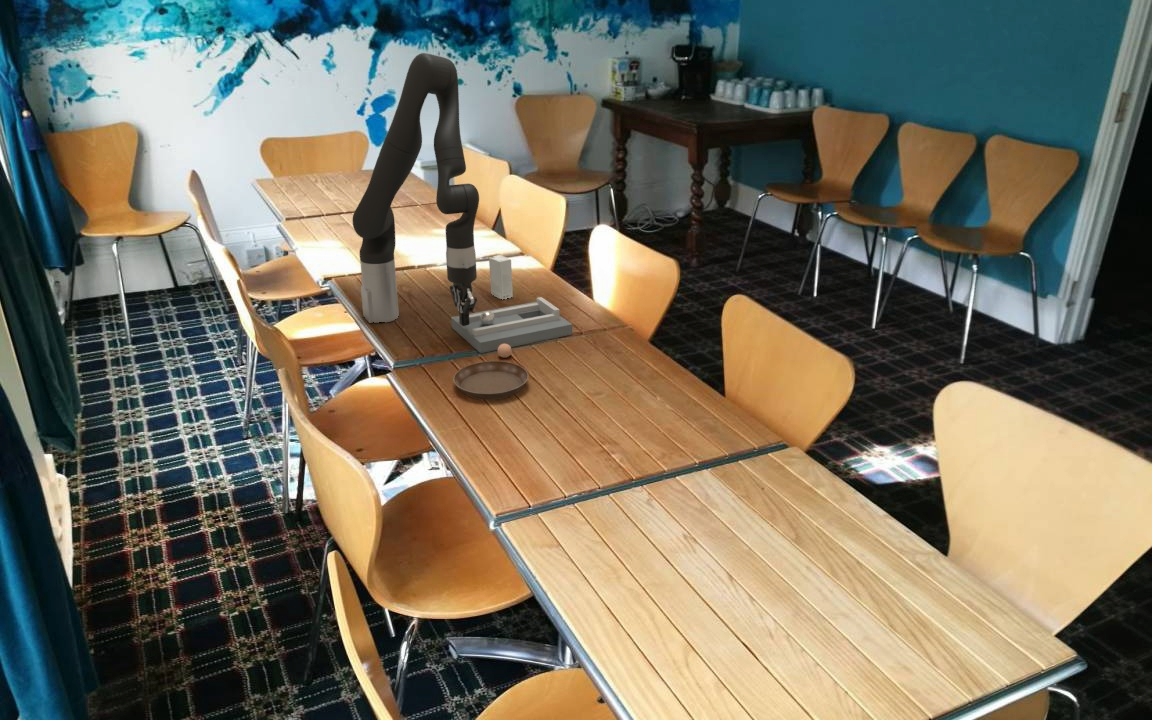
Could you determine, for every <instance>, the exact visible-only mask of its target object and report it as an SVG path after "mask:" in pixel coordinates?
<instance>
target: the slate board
mask: <svg viewBox="0 0 1152 720" xmlns="http://www.w3.org/2000/svg"><path fill="white" fill-rule="evenodd" d="M535 300H536V301H533V302H527V303H522V304H517V305H511V306H510V305H509V306H505V307H499V308H494V309H488V310H487V311H490V312H492V313H493V314H494V316H495V321H494V323H493V324H492V325H489V326H485V325H483V324H482V323H481V321H480V315H481V314H482V313H483V312H484V311H485V310H483V311H478V312H473V313H472V312H470V313H469V325H466V326H462V325H461V324H460V320H459V315H456V316H452V317H450V323H451V329H453V330H454V331H455V332H456V333H457V334H458V335H460V336H461V337H462V339H464V340H465V341H466V342H467V343H468V344H469V345H471V347H473V348H474V349H475V350H476V351H477V352H478V353H479V354H484V353H488V352H489V353H490V352H494V351H497V350H498V347H499V346H500V345H501V344H508V345H509V346H510V347H511V348H513V347H518V346H523V345H527V344H528V345H529V344H532V343H537V342H543V341H547V340H553V339H557V338H562V337H566V336H571V335H573V323H571V322H570V321H568V320H567V319H565V318H564V317H562V316H561V315H560V314H561V313H560V312H561V310H560V309H559V308H558V307H557V306H555V305H554V304H552V303H551V302H549V301H548V300H546V299H545V298H543V297H542V296H540V297H536V299H535Z"/></svg>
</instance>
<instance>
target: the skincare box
mask: <svg viewBox="0 0 1152 720" xmlns="http://www.w3.org/2000/svg"><path fill="white" fill-rule="evenodd" d="M488 263H489V279H490V293H491V294H492V295H491V296H493V295H494V296H493V297H496V298H497V299H499V300H501V299H502V301H504V300H503V299H505V300H508V299H507V298H509V299H512V298H514V290H513V276H512V275H513V273H512V271H513V270H512V259H511V258H508V257H507V256H503V255H500V254H497V255H493V256H490V257H488ZM511 297H512V298H511Z"/></svg>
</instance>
